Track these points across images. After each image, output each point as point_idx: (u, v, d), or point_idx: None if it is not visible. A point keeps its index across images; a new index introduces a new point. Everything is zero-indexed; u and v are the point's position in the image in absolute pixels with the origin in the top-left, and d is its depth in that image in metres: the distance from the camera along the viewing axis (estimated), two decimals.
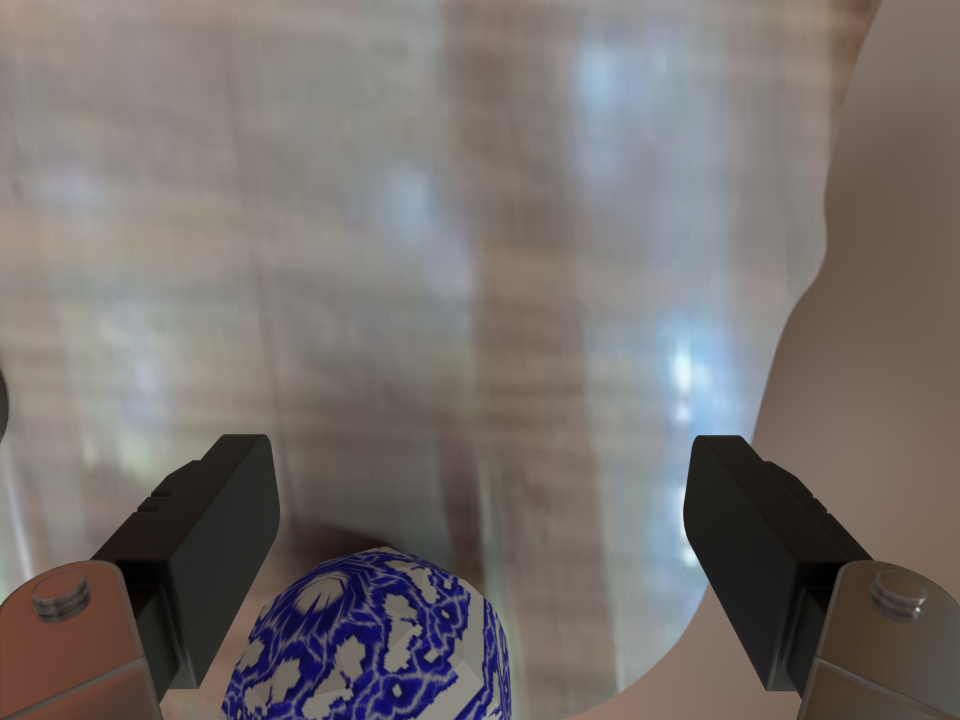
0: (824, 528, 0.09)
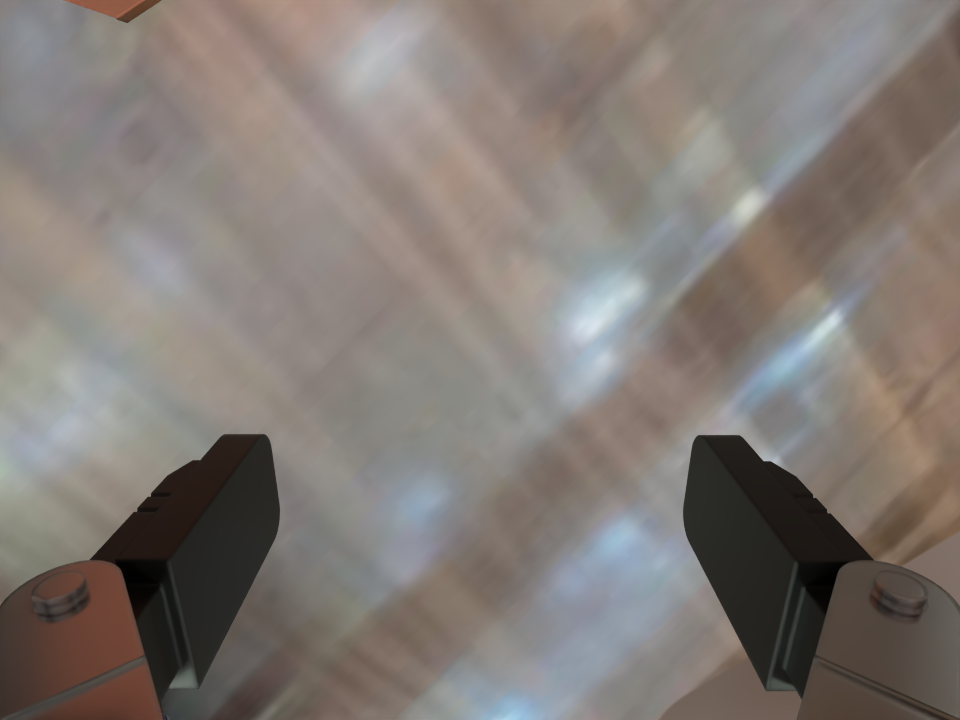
0: (824, 528, 0.09)
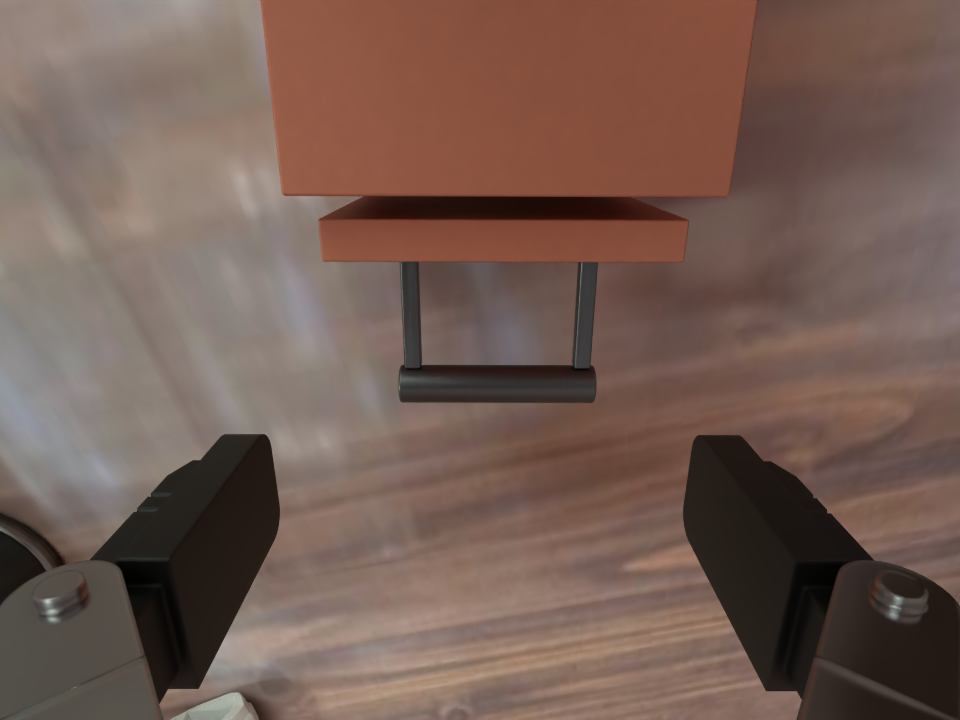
0: (824, 528, 0.09)
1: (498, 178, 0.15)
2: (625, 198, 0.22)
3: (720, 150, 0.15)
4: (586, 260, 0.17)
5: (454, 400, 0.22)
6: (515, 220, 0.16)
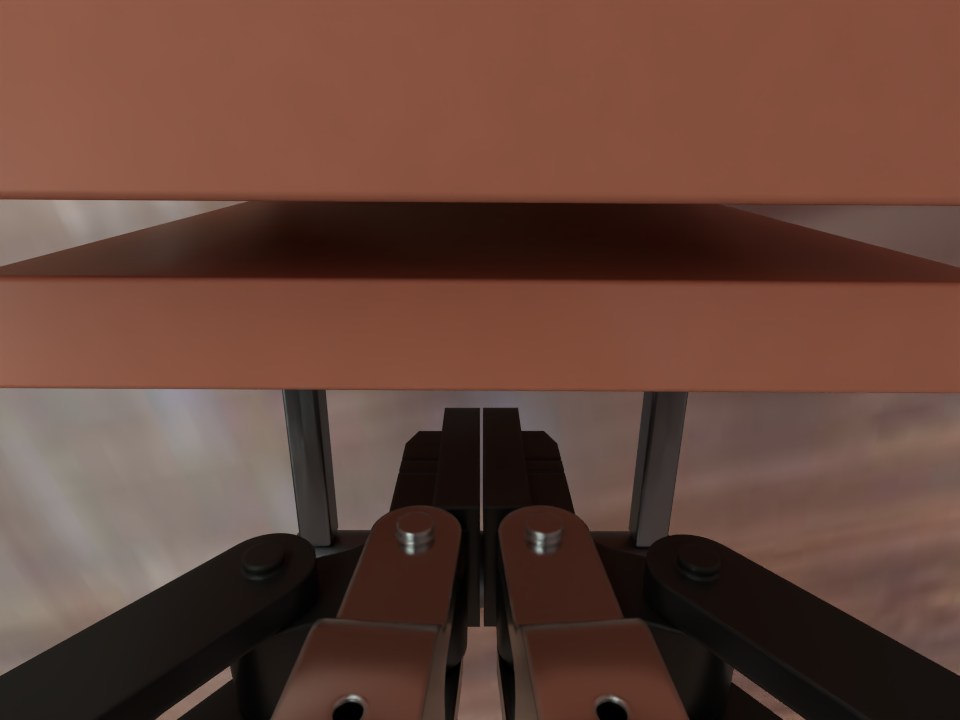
0: (549, 485, 0.10)
1: (470, 140, 0.04)
2: (730, 211, 0.12)
3: None
4: (717, 387, 0.06)
5: None
6: (524, 282, 0.06)
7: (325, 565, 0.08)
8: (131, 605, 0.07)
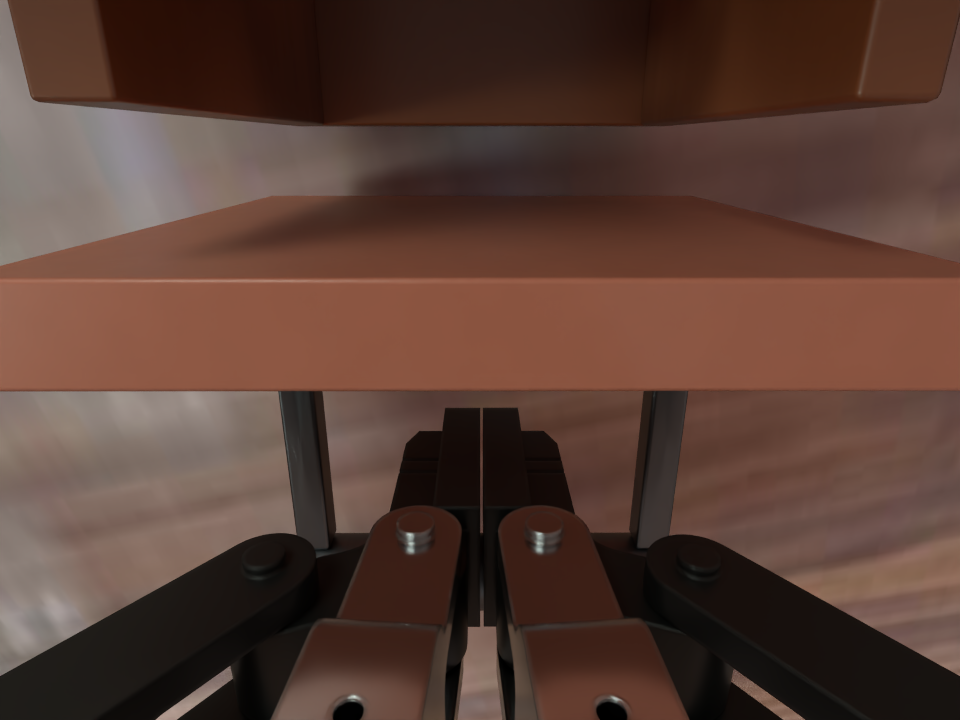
0: (549, 485, 0.10)
1: None
2: (730, 209, 0.12)
3: None
4: (716, 386, 0.06)
5: None
6: (519, 280, 0.06)
7: (326, 565, 0.08)
8: (131, 605, 0.07)
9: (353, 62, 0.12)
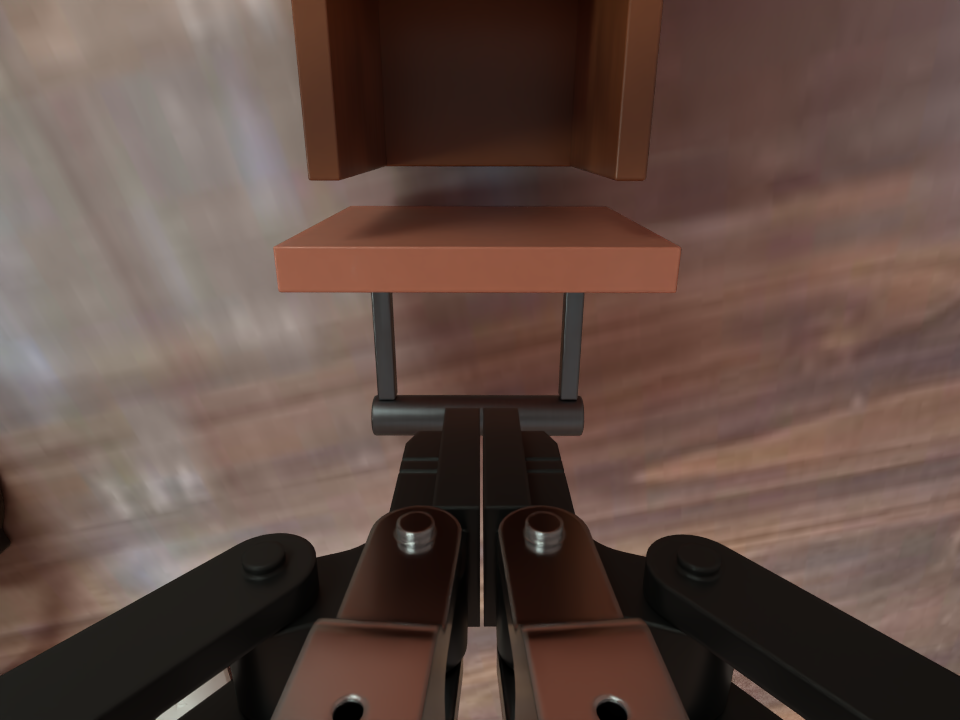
0: (549, 484, 0.10)
1: None
2: (615, 216, 0.21)
3: None
4: (568, 290, 0.15)
5: None
6: (490, 247, 0.15)
7: (325, 566, 0.08)
8: (131, 605, 0.07)
9: (404, 131, 0.21)
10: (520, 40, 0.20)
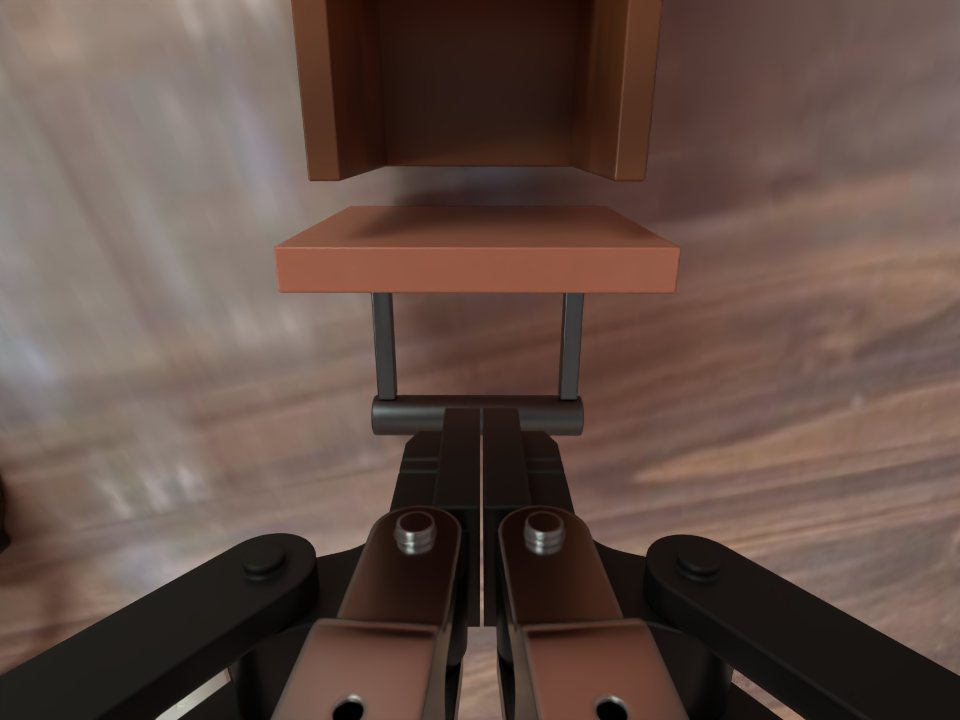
0: (549, 484, 0.10)
1: None
2: (615, 216, 0.21)
3: None
4: (568, 291, 0.15)
5: None
6: (489, 248, 0.15)
7: (325, 566, 0.08)
8: (131, 605, 0.07)
9: (404, 131, 0.22)
10: (520, 40, 0.20)
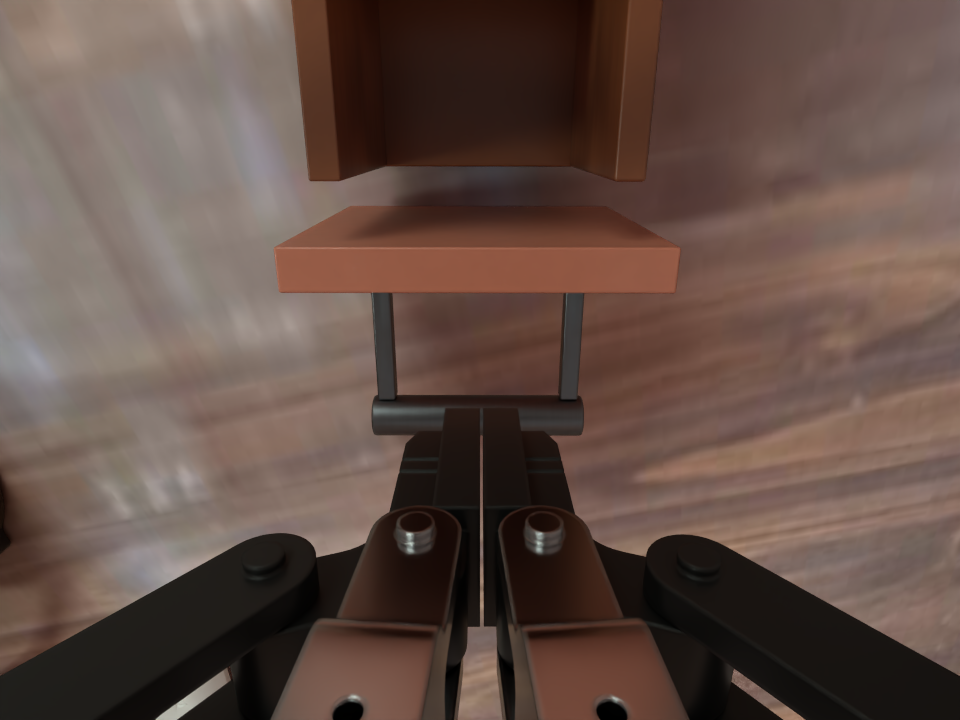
0: (549, 484, 0.10)
1: None
2: (615, 216, 0.21)
3: None
4: (568, 291, 0.15)
5: None
6: (490, 248, 0.15)
7: (325, 566, 0.08)
8: (131, 605, 0.07)
9: (404, 131, 0.22)
10: (520, 40, 0.20)
